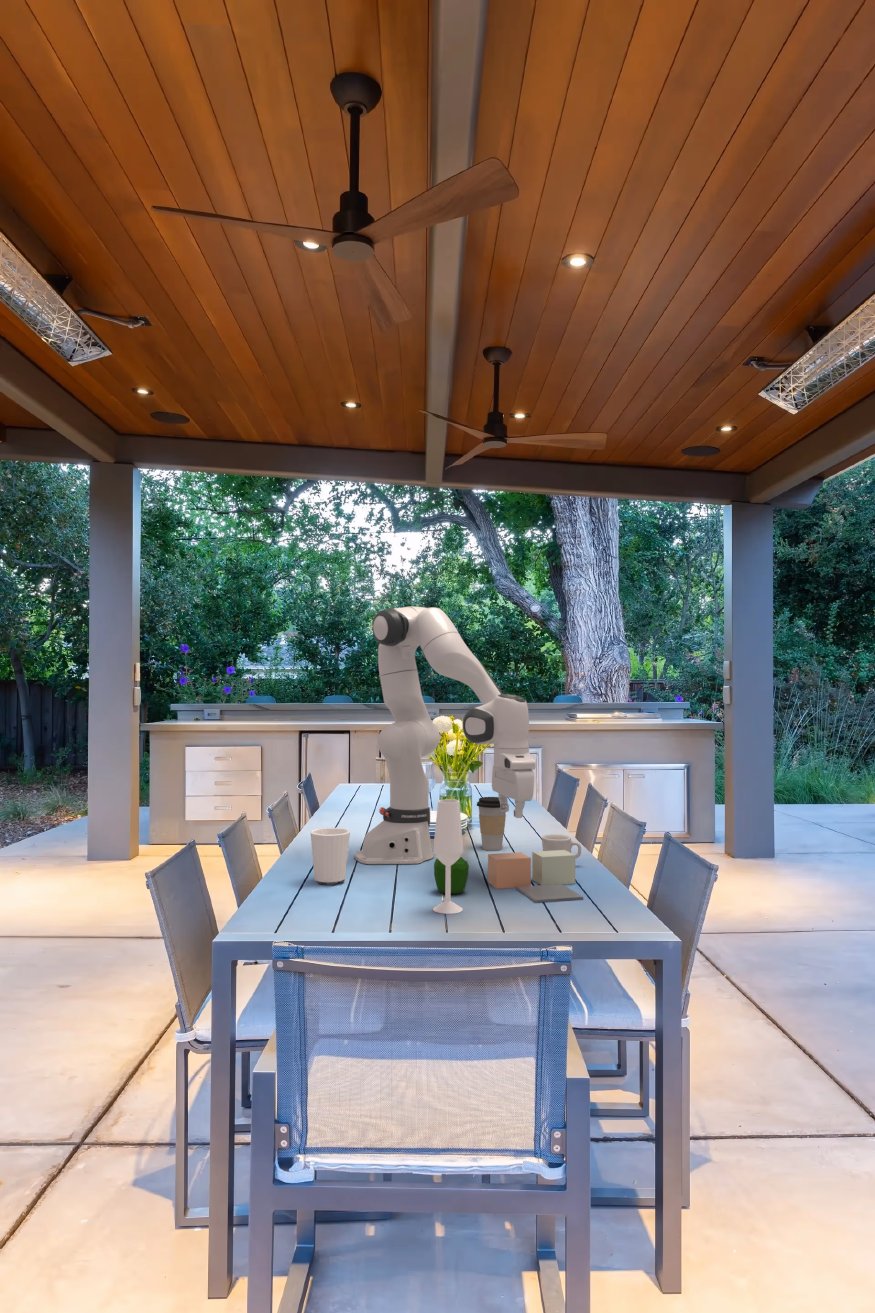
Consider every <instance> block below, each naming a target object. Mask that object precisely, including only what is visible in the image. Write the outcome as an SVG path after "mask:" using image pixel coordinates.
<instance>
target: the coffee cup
mask: <svg viewBox="0 0 875 1313" xmlns="http://www.w3.org/2000/svg"><path fill="white" fill-rule="evenodd" d="M476 806H477V807H478V813H479V814H478V820H479V831H480V832H479V833H480V834H481V835H480V836H481V845H482V846H481V847H482V850H484V851H489V850H490V852H491V851H492V852H493V851H494V852H495V851H496V852H497V851H501V850H502V849H503V841H504V833H505V825H506V817H507V815H506V813H507V812H503V811H501V810H500V801H499V797H498V796H482V797H480V798H478V801H476Z"/></svg>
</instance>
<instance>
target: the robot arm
mask: <svg viewBox="0 0 875 1313" xmlns="http://www.w3.org/2000/svg"><path fill="white" fill-rule="evenodd" d="M371 625H372V626H371V627H372V635H373V636H374V639H375V640H376V642H377V643H379V644H378V647H377V648H378V652H377V653H378V654H377V657H378V658H377V661H378V662H377V663H378V664H377V665H378V672H379V673H378V674H379V680H380V685H381V686H380V687H381V692H382V697H383V702H384V704H385V706H386V707H387V709H388V710H389V711H390V713H391V715H392V718H393V719H394V722H392V723H390V724H388V725H387V726H385V727H384V728H383V729H381V731H380V732H379V734H378V738H377V747H378V751H379V752H380V753H381V755H382V756H383V757H384V760H385V763H386V767H387V768H386V769H387V771H388V776H389V777H388V779H389V801H390V802H389V806H388V807H387V808H385V807H384V806H383V807H380V808H379V810H378V811H379V812H378V813H379V814H380V815H382V821H381V822H380V823H378V824H377V825H376V826H375V827H373V828H372V829H371V830H369V831H368V832H367V833H366V834H365V836H364V839H363V844H362V848H361V850H357V851H356V852H355V853H354V859H355V860H356V861H357V862H359V863H361V864H365V865H400V864H401V865H405V864H406V865H409V864H411V865H414V864H415V865H416V864H421V863H423V862H425V861H429V860H431V859H433V858H434V856H435V854H434V851H433V848H432V842H431V836H430V826H431V810H430V809H431V807H430V806H429V795H430V794H429V789H430V788H429V784H430V783H429V779H428V777H427V775H426V773H425V771H424V768H423V763H422V758H423V757H426V756H428V755H429V754H431V753H433V752H434V751H435V750H436V749H437V747H438V746H439V745H440V741H441V736H440V734H441V733H440V732H439V729H438V727H437V726H436V725H435V724H434V723H433V721H432V719H431V716H430V713H429V711H428V709H427V706H426V704H425V701H424V698H423V694H422V688H421V684H420V679H419V673H418V666H417V662H416V656H415V654H416V651H417V649H418V647H419V648H420V649H421V650H422V653H423V655H424V656H425V658H426V661H427V662H428V664H429V665H430V667H432V669H433V670H434V672H436V673H437V674H439V675H441V676H443V677H446V678H449V679H452V680H455V681H458V682H461V683H462V684H464V685H466V686H468V687H469V688H470V689H471V690H472V691H473V692H474V694H475V695H476V696H477V698H478V699H479V701H480V702H481V704H482V705H479V706H476V707H473V708H471V709H468V710H467V712H466V713H465V715H464V716H463V719H462V732H463V734H464V736H465V738H466V739H467V740H468V742H470V743H473V744H477V745H487V744H488V745H490V744H492V745H493V766H492V771H491V788H492V791H493V792H495V793H497V794H498V796H497V797H499V801H500V810H501V811H503V812H506V813H507V812H509V811H510V805H509V803H508V798H509V799H513V800H514V804H515V807H514V809H513V817H514V818H516V819H522V818H523V817H524V816H523V811H524V808H525V805H526V802H531V801H532V800H533V797H534V791H535V787H534V786H535V773H534V770H535V769H536V765H537V764H536V760H535V759H534V758H533V757H532V755H531V753H530V745H529V741H528V735H529V732H530V716H529V715H530V713H529V706H528V703H527V700H526V699H525V698H523V697H522V696H521V695H517V694H509V693H503V691H502V689H501V688H500V687H499V685H498V684H497V683H496V682H495V681H496V680H494V679H493V677H492V675H491V674H490V673H489V671H488V670H487V668H486V666H484V665H483V664H482V662H481V661H480V660H479V659H478V658H477V656H475V655H474V653H473V652H472V651H471V649H470V648H469V647H468V646H467V644H466V643H465V641H464V640H463V638H462V636H461V635H460V633H459V631H458V629H457V627H456V626H455V625H454V623H453V622H452V621H451V619H450V617H449V616H448V615H447V614H446V613H445V612H444V611H443V609H441V608H439V607H430V606H411V605H410V606H404V607H396V608H392V607H391V608H389V607H388V608H385V609H382V610H380V611H378V612H377V613H376V614H375V615H374V617H373V621H372V624H371Z"/></svg>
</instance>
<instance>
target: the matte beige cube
mask: <svg viewBox="0 0 875 1313" xmlns="http://www.w3.org/2000/svg"><path fill="white" fill-rule="evenodd" d="M531 852H532V853H531V855H532V857H531V880H532V879H533V881H534V882H535V883H537V884H538V885H539V886H540V885H555V884H563V885H575V884H576V859H575V855H576V854H574V853H572V852H571V853H570V852H568V851H566V850H554V851H543V850H539V851H538V850H537V851H531Z"/></svg>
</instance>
